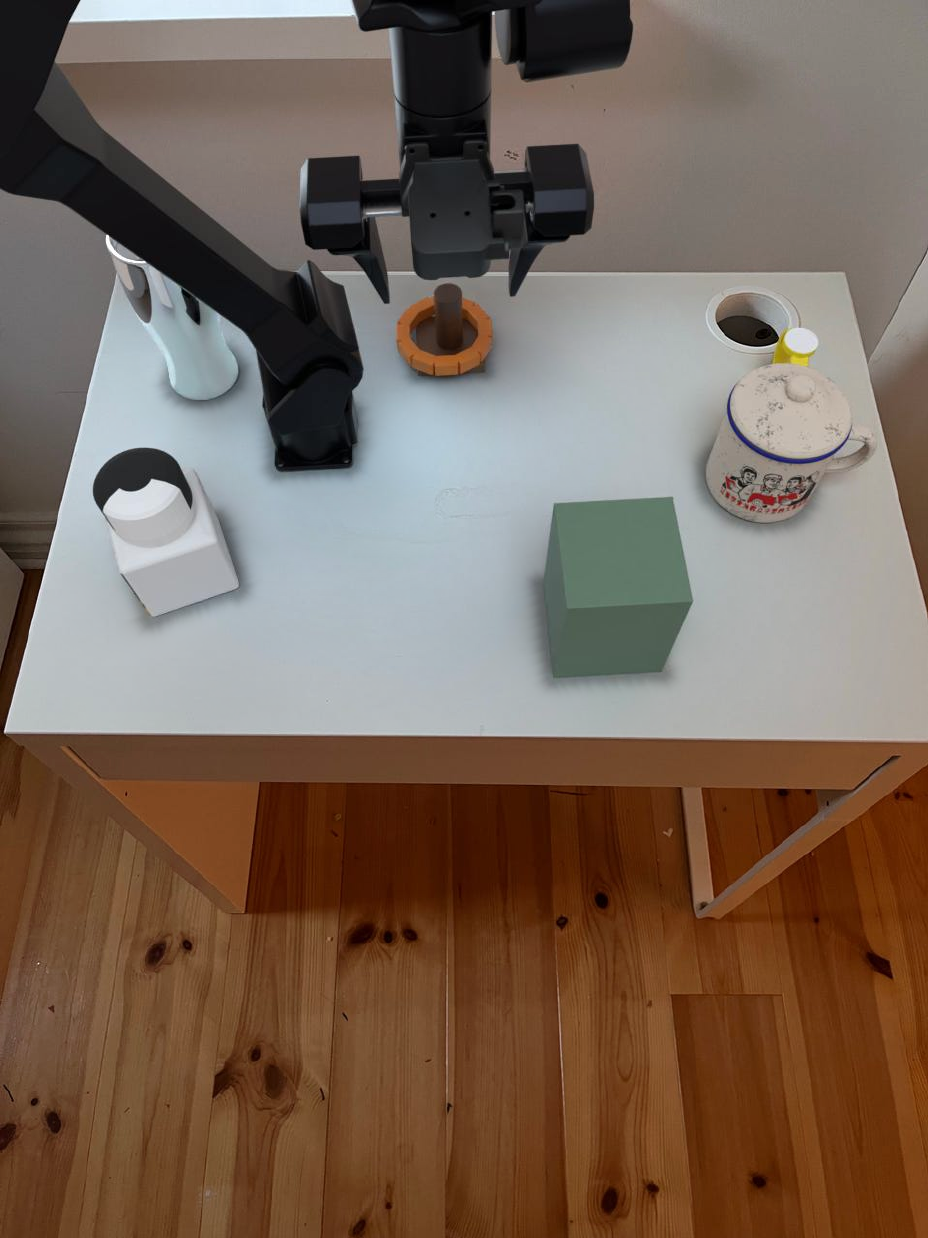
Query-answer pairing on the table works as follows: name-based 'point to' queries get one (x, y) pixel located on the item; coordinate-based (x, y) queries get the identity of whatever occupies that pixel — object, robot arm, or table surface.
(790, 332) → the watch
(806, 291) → the table surface
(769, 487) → the teacup with lid
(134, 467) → the medicine bottle
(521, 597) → the table surface
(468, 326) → the stand
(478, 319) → the ring
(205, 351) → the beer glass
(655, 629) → the block
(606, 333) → the table surface
